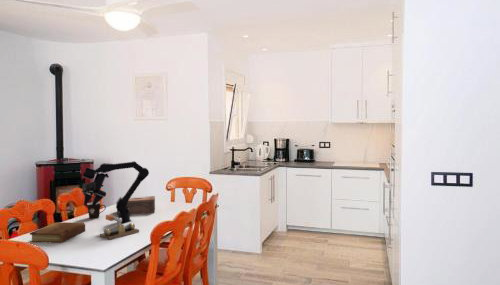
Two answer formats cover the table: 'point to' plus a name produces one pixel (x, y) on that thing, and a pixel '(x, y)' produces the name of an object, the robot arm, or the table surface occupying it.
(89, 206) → the coffee mug
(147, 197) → the tissue box cover
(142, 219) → the table surface
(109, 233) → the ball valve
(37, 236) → the diary
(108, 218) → the valve lever
